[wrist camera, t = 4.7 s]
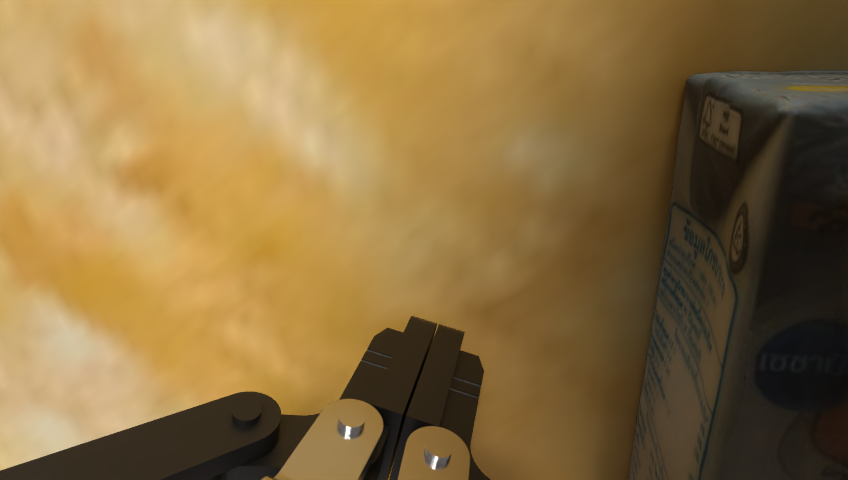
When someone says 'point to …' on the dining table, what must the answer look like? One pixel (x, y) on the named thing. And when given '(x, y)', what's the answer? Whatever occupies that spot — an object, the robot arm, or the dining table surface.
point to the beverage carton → (752, 286)
